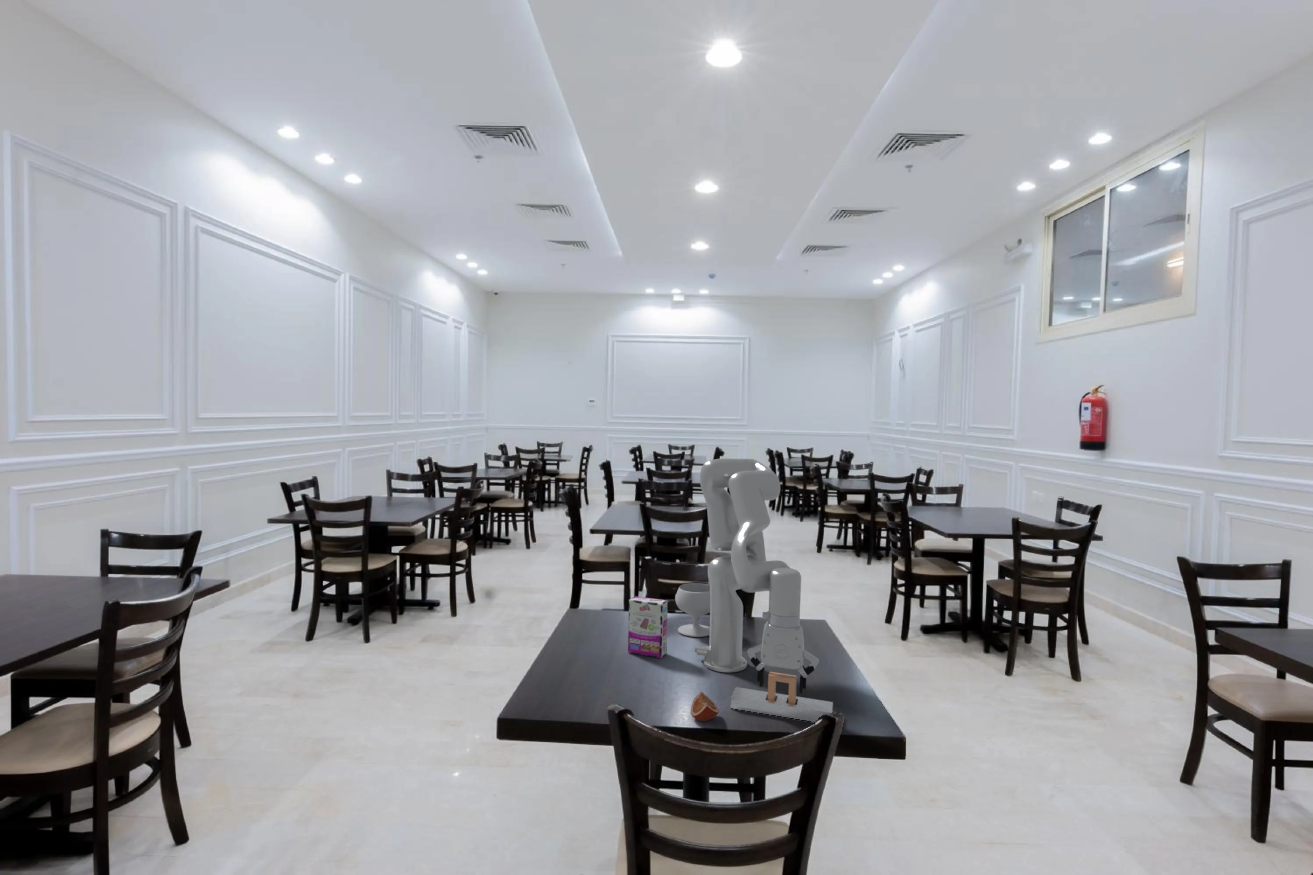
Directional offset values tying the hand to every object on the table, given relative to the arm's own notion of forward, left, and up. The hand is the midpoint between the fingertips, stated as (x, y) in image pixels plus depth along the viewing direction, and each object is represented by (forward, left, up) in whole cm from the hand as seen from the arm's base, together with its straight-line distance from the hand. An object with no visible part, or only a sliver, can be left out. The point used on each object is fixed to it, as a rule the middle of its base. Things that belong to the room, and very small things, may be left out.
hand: (781, 687), depth 153 cm
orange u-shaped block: (0, 0, -6) cm, 6 cm away
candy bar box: (-43, +24, -6) cm, 49 cm away
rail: (0, 0, -6) cm, 6 cm away
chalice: (-34, +48, -6) cm, 59 cm away
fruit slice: (-17, -10, -6) cm, 21 cm away
